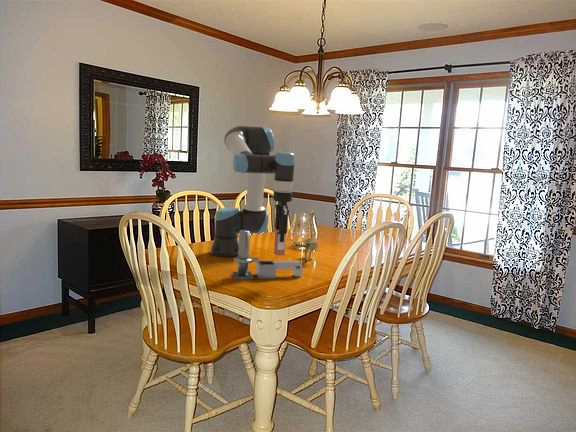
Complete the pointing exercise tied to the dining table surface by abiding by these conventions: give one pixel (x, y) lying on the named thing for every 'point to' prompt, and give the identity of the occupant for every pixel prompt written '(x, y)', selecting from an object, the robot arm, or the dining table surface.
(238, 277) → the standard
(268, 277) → the bracket
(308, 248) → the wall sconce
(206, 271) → the dining table surface
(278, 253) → the wedge pin
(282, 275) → the dining table surface
